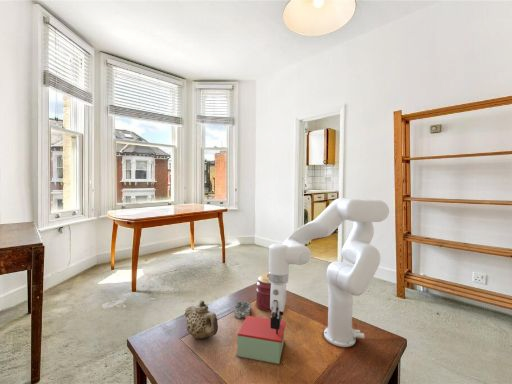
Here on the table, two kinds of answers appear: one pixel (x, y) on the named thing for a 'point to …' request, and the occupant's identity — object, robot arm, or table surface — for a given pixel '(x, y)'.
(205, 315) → the teapot
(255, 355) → the storage box
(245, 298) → the table surface
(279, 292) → the robot arm
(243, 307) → the egg carton
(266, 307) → the kitchen canister
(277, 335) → the lid
